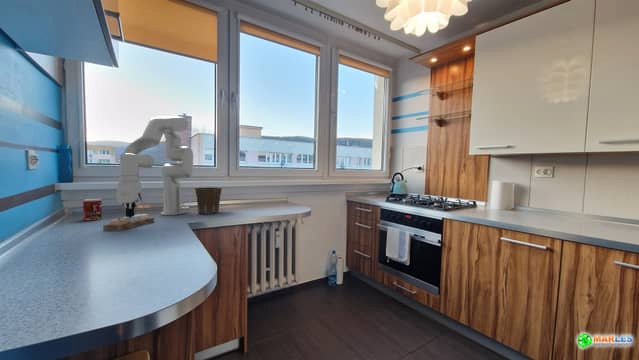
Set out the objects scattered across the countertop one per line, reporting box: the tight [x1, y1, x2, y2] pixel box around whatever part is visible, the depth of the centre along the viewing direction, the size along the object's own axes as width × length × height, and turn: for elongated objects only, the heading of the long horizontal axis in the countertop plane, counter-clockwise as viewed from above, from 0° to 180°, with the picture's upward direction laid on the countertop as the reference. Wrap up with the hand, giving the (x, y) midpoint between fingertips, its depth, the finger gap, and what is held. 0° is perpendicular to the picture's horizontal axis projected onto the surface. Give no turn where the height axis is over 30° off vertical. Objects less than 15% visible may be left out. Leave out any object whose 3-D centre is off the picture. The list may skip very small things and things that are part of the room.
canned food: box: [82, 198, 103, 220], centre depth 141 cm, size 8×8×11 cm
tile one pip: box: [134, 213, 149, 220], centre depth 133 cm, size 5×5×4 cm
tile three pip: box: [109, 217, 128, 225], centre depth 120 cm, size 5×5×4 cm
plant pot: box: [194, 187, 223, 215], centre depth 166 cm, size 16×16×16 cm
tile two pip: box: [121, 216, 139, 222], centre depth 126 cm, size 5×5×4 cm
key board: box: [102, 216, 155, 232], centre depth 126 cm, size 20×8×2 cm, turn 174°
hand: (130, 216), depth 126 cm, fingers closed
